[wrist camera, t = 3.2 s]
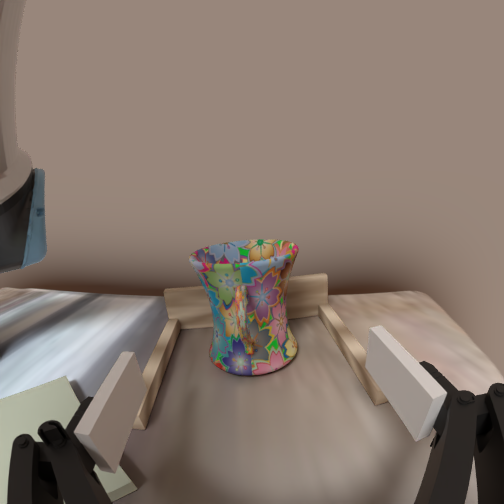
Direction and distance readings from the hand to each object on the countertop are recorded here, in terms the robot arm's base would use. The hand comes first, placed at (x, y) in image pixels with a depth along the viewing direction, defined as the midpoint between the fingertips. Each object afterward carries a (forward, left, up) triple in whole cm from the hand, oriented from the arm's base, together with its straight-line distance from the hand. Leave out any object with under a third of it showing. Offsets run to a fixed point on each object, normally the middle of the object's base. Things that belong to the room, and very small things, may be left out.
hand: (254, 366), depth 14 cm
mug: (-7, +7, -7) cm, 12 cm away
